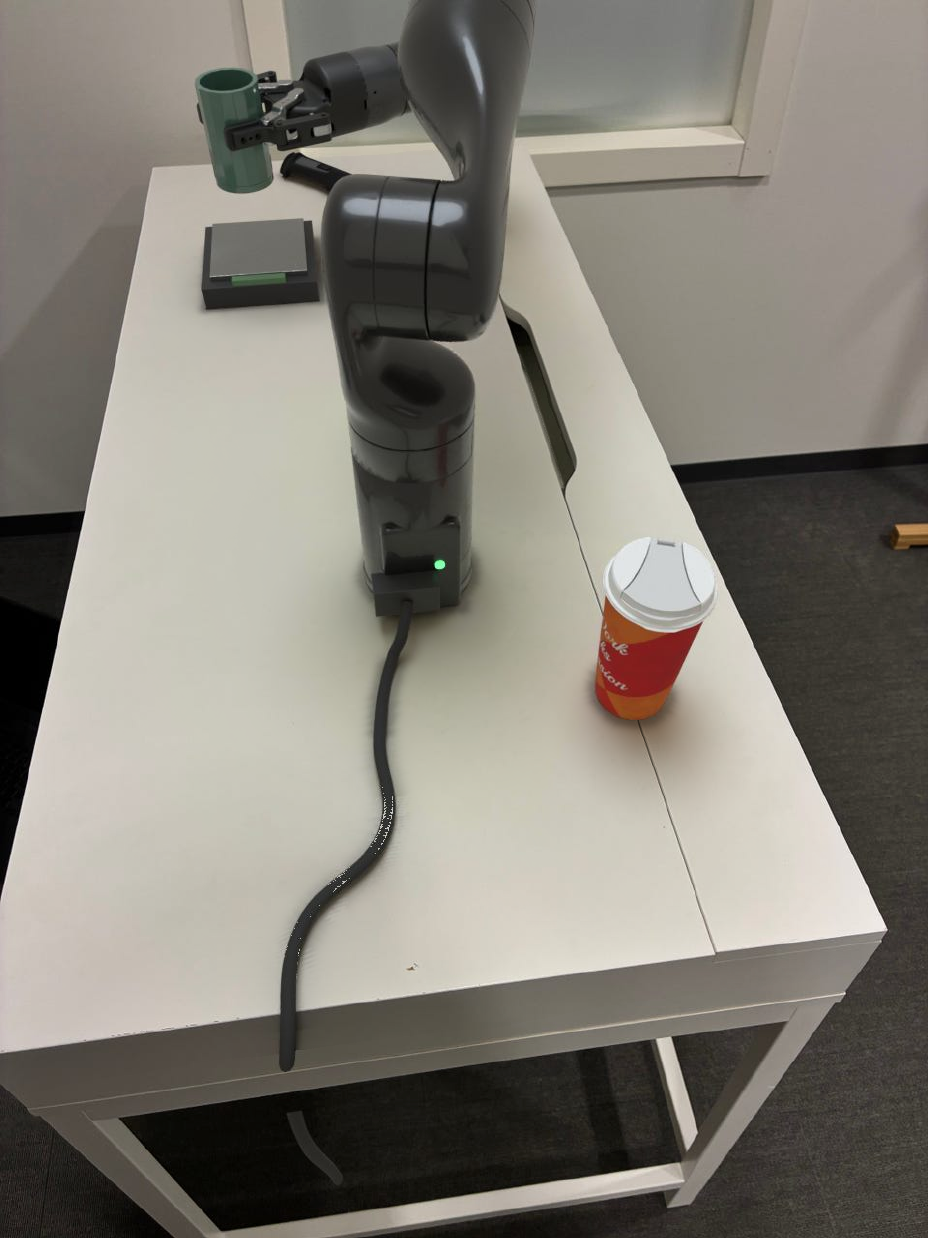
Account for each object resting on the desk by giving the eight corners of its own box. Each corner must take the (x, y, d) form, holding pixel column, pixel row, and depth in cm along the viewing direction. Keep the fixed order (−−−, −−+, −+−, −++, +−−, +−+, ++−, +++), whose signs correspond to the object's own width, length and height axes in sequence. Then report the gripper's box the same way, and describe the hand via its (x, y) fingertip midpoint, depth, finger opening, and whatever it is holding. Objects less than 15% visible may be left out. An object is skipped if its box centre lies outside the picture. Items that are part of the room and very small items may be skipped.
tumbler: (274, 191, 95) (257, 90, 87) (215, 195, 94) (193, 94, 86) (273, 165, 98) (257, 65, 91) (217, 168, 98) (196, 68, 90)
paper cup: (587, 643, 72) (611, 522, 61) (682, 659, 71) (724, 540, 60) (575, 723, 67) (599, 608, 56) (676, 742, 66) (721, 629, 55)
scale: (319, 300, 102) (316, 275, 100) (206, 309, 101) (199, 283, 99) (314, 239, 111) (311, 214, 108) (209, 246, 110) (203, 221, 107)
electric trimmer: (365, 212, 116) (364, 188, 113) (278, 177, 121) (274, 153, 119) (383, 201, 118) (382, 177, 115) (296, 167, 123) (293, 143, 121)
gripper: (319, 30, 97) (176, 63, 91) (385, 75, 90) (234, 113, 84) (327, 103, 103) (193, 138, 97) (390, 151, 96) (248, 192, 90)
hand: (213, 126), depth 91 cm, fingers closed on tumbler, 6 cm apart
